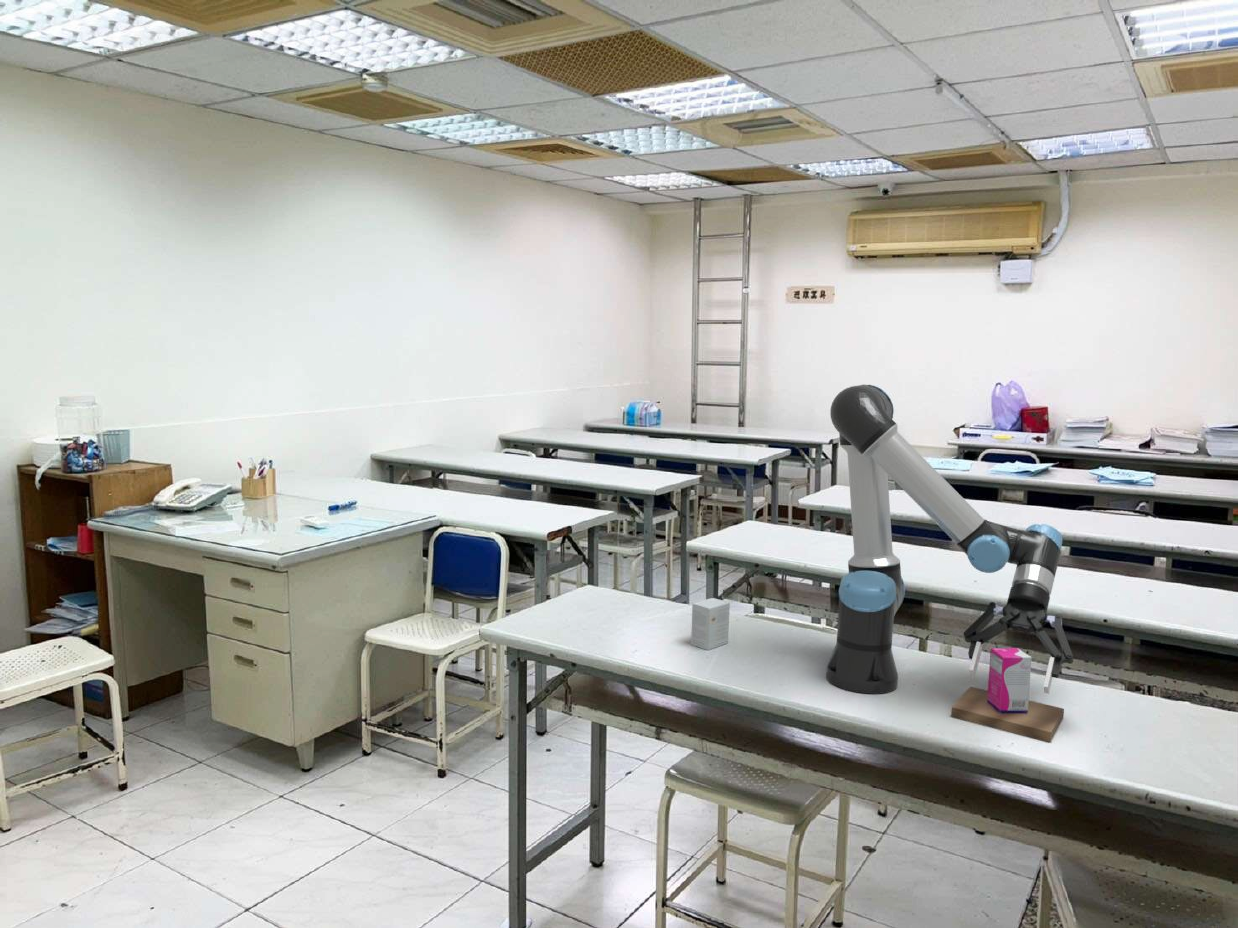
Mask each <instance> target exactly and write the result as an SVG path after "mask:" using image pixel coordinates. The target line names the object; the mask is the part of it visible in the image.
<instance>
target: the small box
mask: <svg viewBox="0 0 1238 928" xmlns="http://www.w3.org/2000/svg"><path fill="white" fill-rule="evenodd" d="M730 604H731V603H730V602H728V601H725V600H722V599H718V598H715V597H710V598H707V599H703V600H700V601H696V602H694V603H692V606H691V633H690V635H691V637H690V638H691V639H690V641H691V642H690V645H691V646H694V647H697V648H700V649H703V650H706V651H709V650H712V649H716V648H718V647H721V646H724V645H727V644H728V643H729V630H730V625H729V624H730V609H731V608H730Z"/></svg>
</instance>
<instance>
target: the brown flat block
mask: <svg viewBox="0 0 1238 928" xmlns="http://www.w3.org/2000/svg"><path fill="white" fill-rule="evenodd" d="M987 696H988V689H987V690H986V689H984V688H983V689H982V688H979V687H974V686H969V687H968V688H967V689H966V691H964V693H963V694H962V695H960V697H959V698H958V699H957V701H956V702H955V703H954V704H953V705H951V709H950V710H951V713H950V718H954V719H958V718H959V720H961V721H965V722H970V723H973V724H978V725H981V726H985V727H989V728H993V729H997V730H1000V731H1004V732H1008V733H1013V734H1016V735H1019V736H1024V737H1028V738H1030V739H1036V740H1039V741H1043V742H1047V743H1051V742H1052V740H1053V738H1054V736H1055V735H1056V733H1057V731H1058V729H1059V727H1060V726H1061V724H1062V721H1063V720H1064V715H1065V708H1063V707H1059V706H1054V705H1050V704H1046V703H1042V702H1037V701H1032V700H1029V701H1028V713H999V712H998V711H997V710H996V709H995V708H994V707H993V706H992V705H991V704H989V703H988V702H987Z"/></svg>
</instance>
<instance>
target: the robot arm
mask: <svg viewBox="0 0 1238 928" xmlns="http://www.w3.org/2000/svg"><path fill="white" fill-rule="evenodd" d="M829 412H830V418H831V419H830V420H831V423H832V425H833V426H834V429H836V431H837V432H838V433H839V445H840V447H841V448H842V449H843V450H844V451H845V452H846V453H847V465H848V467H847V468H848V483H849V495H850V496H849V497H850V509H851V514H850V515H851V526H852V528H851V529H852V541H853V555H852V557H850V559H848V561H847V567H848V569H847V570H848V572H847V573H846V574H845V575H843V577H842V578H841V580H840V585H839V587H838V596H839V598H838V612H837V613H838V614H837V615H838V616H837V632H836V633H837V634H836V643H835V646H834V649H833V651H832V653H831V656H830V658H829V661H828V663H827V665H826V673H825V674H826V679H827V680H828V682H829V683H831V684H832V685H834V686H836V687H838V688H841V689H843V690H846V691H847V690H848V691H850V692H854V693H855V692H856V693H862V694H884V693H890V692H893V691H894V690H896V689H897V688H898V683H899V682H898V681H899V673H898V670H897V665H896V662H895V659H894V654H893V650H892V648H893V647H892V646H893V633H894V620H895V615H896V613H897V611H898V610H899V608H900V607H901V605H902V604H903V601H904V598H905V594H906V586H905V581H904V580H903V577H902V571H901V569H902V568H901V560H900V558H899V557H898V556H896V555H895V554H894V553H893V550H894V549H893V537H892V523H891V522H892V521H891V507H890V493H889V492H890V491H889V477H890V478H891V479H892V481H894V482H895V483H896V484H897V485H898V486H899V488H901V489H902V490H903V491H904V492H905V493H906V494H907V495H908V496H909V497H910V498H911V499H912V500H913V501H914V502H915V503H916V504H917V505H918V506H919V507H920V508H921V509H922V511H924V512H925V513H926V514H927V516H929V518H930V519H932V521H934V523H936V525H938V527H939V528H940V529H941V530H942V531H943V532H944V533H945V534H946V535H947V536H948V537H949V539H951V540H952V541H953V542H954V543H955V544H956V545H957V546H958V547H959V549H960V550H961V551H962V552H964V554H965V555H966V556H967V558H968V559H967V560H968V562H969V563H970V564H971V566H972V567H973V568H974V569H976V570H977V571H979V572H980V573H985V574H986V573H987V574H992V573H993V574H994V573H995V572H999V571H1000V570H1003V568H1004V567H1005V566H1006V565H1007V564H1012V565H1015V567H1016V569H1015V572H1014V575H1013V579H1012V583H1011V587H1010V590H1009V592H1008V593H1009V594H1008V598H1007V602H1006V605H1004V606H1000V605H998V604H996V603H995V602H993V601H992V602H989V603H988V605H987V608H986V610H985V611H984V612H983V613H982V614H981V615H980V616H979V617H978V618H977V619H976V620H975V621H974V622H973V623H972V624H971V625H970V626H969V627H968V628H967V629H966V630H965V631H963V633H962V634H963V638H964V640H965V642H966V643H969V644H970V645H969V649H968V652H967V654H968V659H969V660H971V661H970V666H969V667H968V670H969V675H970V676H971V677H974V678H975V677H976V673H977V670H978V666H979V663H980V660H981V655H982V651H983V646H982V645H983V644H985V643H987V642H988V641H990V640H992V639H993V638H995V637H996V636H998V635H1000V634H1001V633H1004V632H1007V631H1009V630H1010V629H1012V630H1013V631H1016V632H1022V633H1025V634H1028V635H1029V634H1030V633H1031V634H1032V633H1034V634H1035V635H1036V636H1035V637H1037V638H1038V639H1039V640H1040V642H1041V643H1042V645H1043V646H1044V648H1045V649H1046V650H1047V652H1048V653H1049V655H1050V657H1049V660H1048V664H1047V668H1046V674H1045V679H1044V681H1043V686H1042V687H1043V692H1044V693H1043V694H1048V695H1049V693H1050V689H1051V685H1052V681H1053V678H1054V679H1058V678H1059V676H1060V672H1061V668H1062V665H1063V664H1070V665H1071V664H1073V663H1074V655H1073V651H1072V650H1071V647H1070V644H1069V641H1068V639H1067V636H1066V634H1065V631H1064V628H1063V618H1062V617H1063V615H1061V613H1060V614H1059V613H1056V614H1054V615H1047V613H1048V608H1049V604H1050V600H1051V594H1052V591H1053V587H1054V582H1055V577H1056V573H1057V570H1058V565H1059V561H1060V558H1061V555H1062V546H1063V545H1062V544H1063V539H1064V538H1063V536H1062V533H1061V532H1060V531H1059V530H1058V529H1057V528H1055V527H1053V526H1052V525H1048V524H1045V523H1043V524H1039V523H1035V524H1034V523H1033V524H1031V525H1029V526H1027V528H1026V530H1021V529H1017V528H1014V527H1010V526H1005V524H1004V525H1003V524H999V523H996V522H992V521H990V520H988V519H985V518H984V517H982V516H981V515H980V514H979V512H977V510H976V509H975V508H974V507H973V506H971V504H969V502H968V501H967V500H966V499H965V498H964V497H963V496H962V495H961V494H959V492H958V491H957V490H956V489H955V488H954V487H953V486H952V485H951V484H950V483H949V482H948V481H947V480H946V479H945V478H944V477H943V476H942V475H941V474H940V473H939V472H938V471H937V470H936V469H935V468H934V467H933V466H932V465H931V464H930V462H928V461H927V460H926V459H925V458H924V457H923V456H922V455H921V454H920V453H919V452H918V451H917V450H916V449H915V448H914V447H913V446H912V445H911V444H910V443H909V441H907V440H906V439H905V438H904V437H903V436H902V435H901V434H900V432H899V431H898V423H896V421H894V419H893V418H894V412H895V410H894V404H893V402H892V399H891V398H890V396H889V395H888V393H887V392H886V391H885V390H884V389H882V388H880V387H879V386H876V385H872V384H860V385H852V386H849V387H846V388H845V389H842V390H841V391H840V392H838V393H837V395H836V396H835V397H834V399H833V401H832V403H831V406H830V411H829ZM1000 614H1002V615H1003V616H1002V617H1000V618H999V620H998V621H997V622H995V623H993V624H991V625H989V626H988V624H990V623H991V622H992V621H993V619H995V617H998V616H999V615H1000ZM1047 623H1049V624H1050V626H1051V627H1052V628H1054V629H1055V630H1054V631H1055V635H1056V638H1057V639H1058V643H1059V645H1060V647H1061V650H1062V652H1060V651H1059V649H1058V647H1057V646H1056V645H1055V643H1054V642H1053V640H1052V639H1051V637H1049V635H1048V634H1047V632H1046V631H1045V629H1044V627H1043V626H1044V625H1045V624H1047ZM986 627H987V628H986Z"/></svg>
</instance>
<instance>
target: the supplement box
mask: <svg viewBox="0 0 1238 928" xmlns="http://www.w3.org/2000/svg"><path fill="white" fill-rule="evenodd" d="M989 652H990V653H989V654H990V655H989V657H990V658H989V667H988V668H989V670H988V682H987V691H988V696H987V702H988V703H989V704H991V705H992V706H993V707H994V708H995V709H996V710H997V711H998V712H999V713H1028V701H1030V700H1029V698H1030V687H1031V685H1030V684H1031V682H1030V681H1031V670H1032V656H1031V655H1030V654H1029V655H1028V654H1027V653H1026V652H1024V651H1022V650H1021V649H1020V648H1018V647H1013V648H1011V647H1010V648H1009V647H1006V648H1005V647H1004V648H1003V647H999V648H998V647H995V648H993V647H990V651H989Z"/></svg>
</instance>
